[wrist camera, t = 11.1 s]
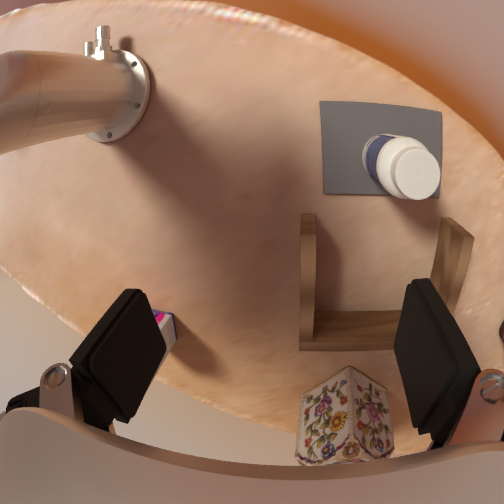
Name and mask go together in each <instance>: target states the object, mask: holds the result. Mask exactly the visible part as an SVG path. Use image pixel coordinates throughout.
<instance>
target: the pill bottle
mask: <svg viewBox="0 0 504 504" xmlns="http://www.w3.org/2000/svg"><path fill="white" fill-rule="evenodd" d="M362 160H363V165H364V168H365V170H366V171H367V173H368V174H369V175H370V176H371V177H372V178H373V179H374V180H375V181H376V182H377V183H379V184H380V185H381V186H382V187H383V188H384V189H385V190H386V191H388V192H389V193H390V194H392V195H393V196H395V197H397V198H401V199H414V200H422V199H426V198H428V197H429V196H431V195H432V194H433V193H434V192H435V190H436V189H437V187H438V185H439V181H440V168H439V165H438V162H437V160H436V159H435V157H434V156H433V155H432V154H431V153H429V151H428V150H427V148H426V147H425V146H424V145H423V144H422V143H421V142H419V141H417V140H415V139H413V138H411V137H404V136H398V135H392V134H379V135H376V136H374V137H372V138H371V139H370V140H369V141H368V142H367V143H366V145H365V147H364V149H363V155H362Z"/></svg>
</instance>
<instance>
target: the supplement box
mask: <svg viewBox="0 0 504 504" xmlns="http://www.w3.org/2000/svg"><path fill="white" fill-rule="evenodd" d="M152 312H153V314H154V317H155V319H156V321H157V324H158V326H159V329H160V331H161V333H162V336H163V338H164V340H165V342H166V346H167V348H166V353H165V355H164V357H163V359H162V361H161V363H160V365H159V367H158V369H157V371H156V373H155V375H156V374H157V372H158V370H159V368H160V367H161V365H162V363H163V362H164V360H165V358H166V357H167V355H168V353H169V352H170V350H171V348H172V347H173V345H174V343H175V342H176V340H177V334H176V329H175V323H174V317H173V314H172V313H167V312H161V311H157V310H153V309H152ZM155 375H154V377H155ZM154 377H153V379H154ZM153 379H152V380H153ZM151 382H152V381H151ZM150 384H151V383H150ZM149 386H150V385H149Z"/></svg>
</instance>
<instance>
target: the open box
mask: <svg viewBox="0 0 504 504" xmlns="http://www.w3.org/2000/svg"><path fill="white" fill-rule="evenodd" d="M474 238H475V237H473V236H472V235H471V234H470V233H469V232H468V231H466V230H465V229H464V228H463V227H462V226H461V225H459V224H458V223H457V222H456V221H454V220H453V219H452V218H442V219H441V226H440V232H439V238H438V244H437V249H436V254H435V259H434V264H433V268H432V272H431V277H430V281H431V282H432V284H433V285H434V287H435V288H436V290H437V292H438V293H439V295H440V296H441V298H442V300H443V301H444V303H445V305H446V306H447V308H448V310H449V311H450V313H451V315H453V312H454V309H455V306H456V303H457V300H458V297H459V294H460V291H461V288H462V285H463V281H464V278H465V275H466V271H467V267H468V263H469V260H470V255H471V251H472V247H473V242H474ZM300 253H301V293H300V341H299V351H369V350H389V349H394V340H395V336H396V332H397V328H398V324H399V320H400V316H401V311H402V310H395V311H357V312H314V304H315V281H316V223H315V214H301V231H300Z"/></svg>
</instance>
